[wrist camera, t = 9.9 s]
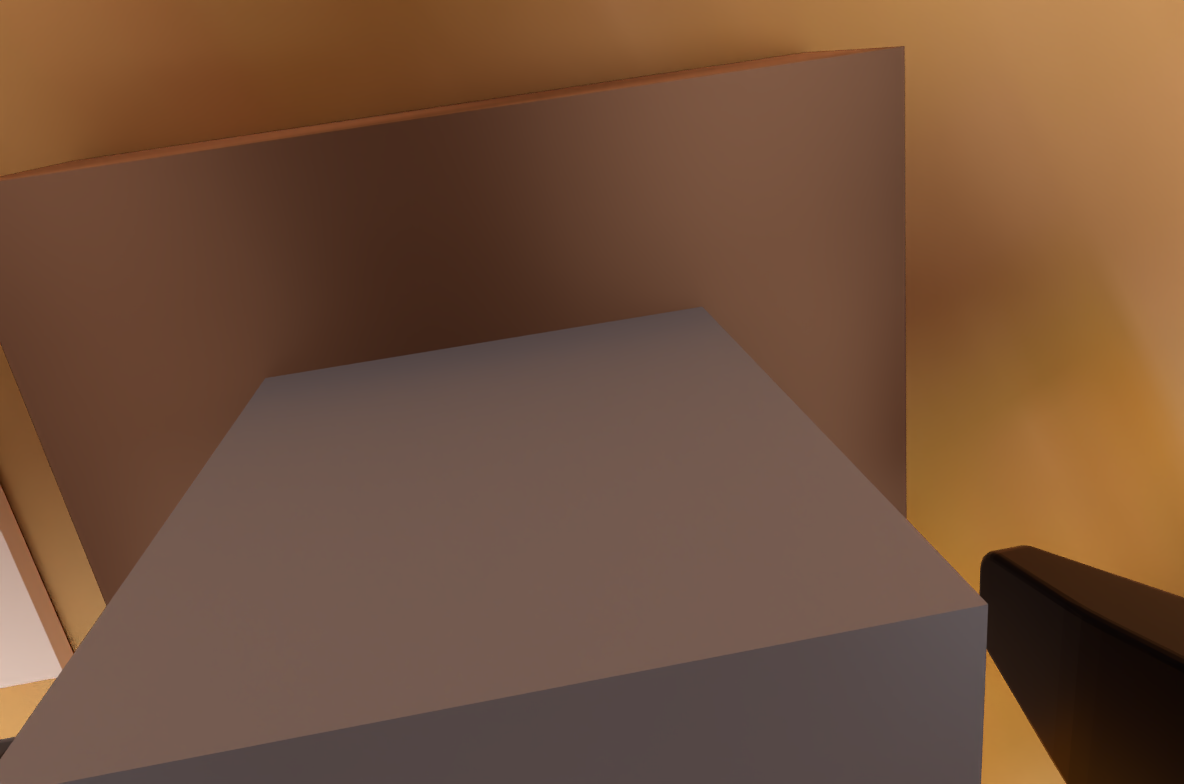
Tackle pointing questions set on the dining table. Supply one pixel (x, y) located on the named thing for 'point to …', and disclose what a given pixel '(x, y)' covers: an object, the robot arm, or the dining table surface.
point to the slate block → (527, 589)
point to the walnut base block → (458, 260)
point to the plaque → (25, 613)
